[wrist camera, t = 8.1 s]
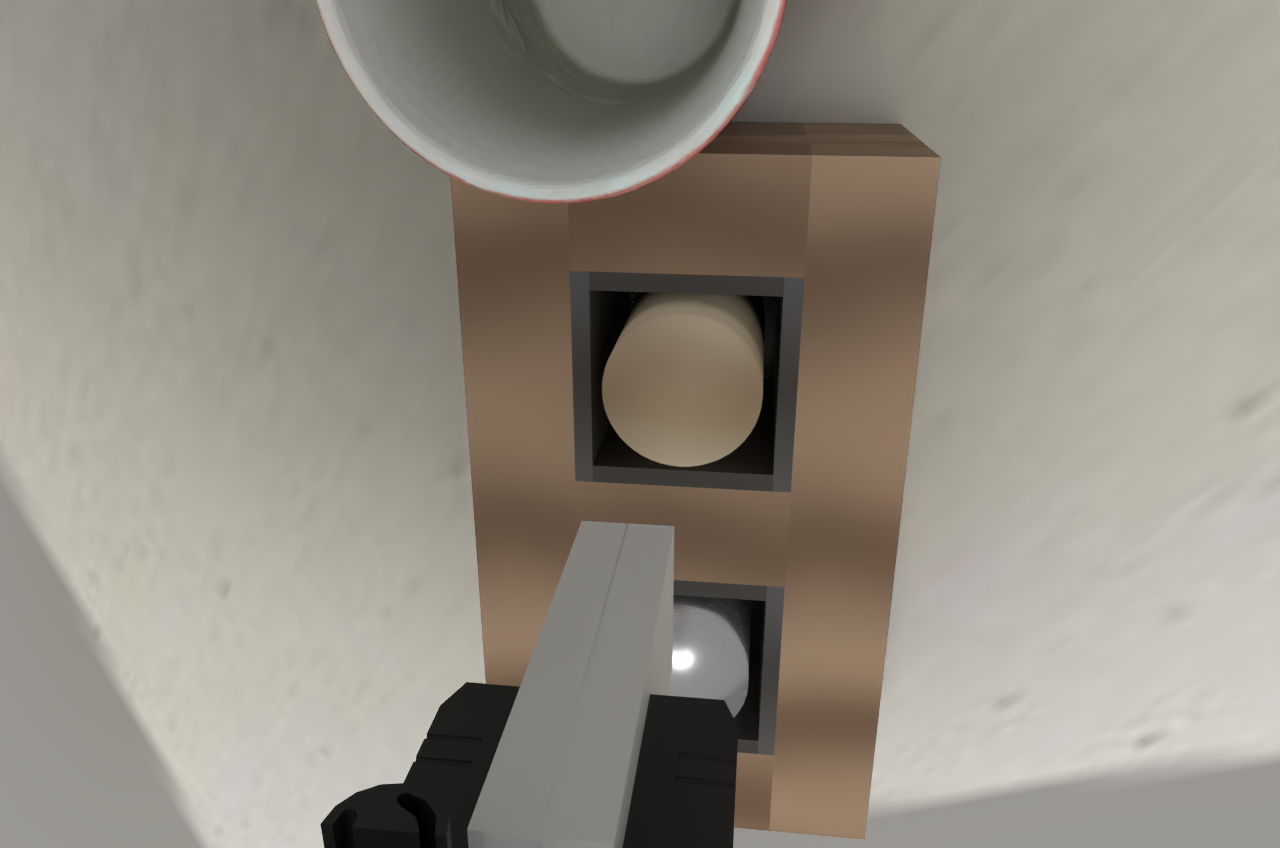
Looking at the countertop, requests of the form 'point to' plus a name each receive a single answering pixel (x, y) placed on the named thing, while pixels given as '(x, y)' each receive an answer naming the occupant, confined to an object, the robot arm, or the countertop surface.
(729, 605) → the steel peg
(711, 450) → the beech peg
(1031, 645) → the countertop surface
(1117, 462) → the countertop surface
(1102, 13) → the countertop surface
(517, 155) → the mug
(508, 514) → the socket block
